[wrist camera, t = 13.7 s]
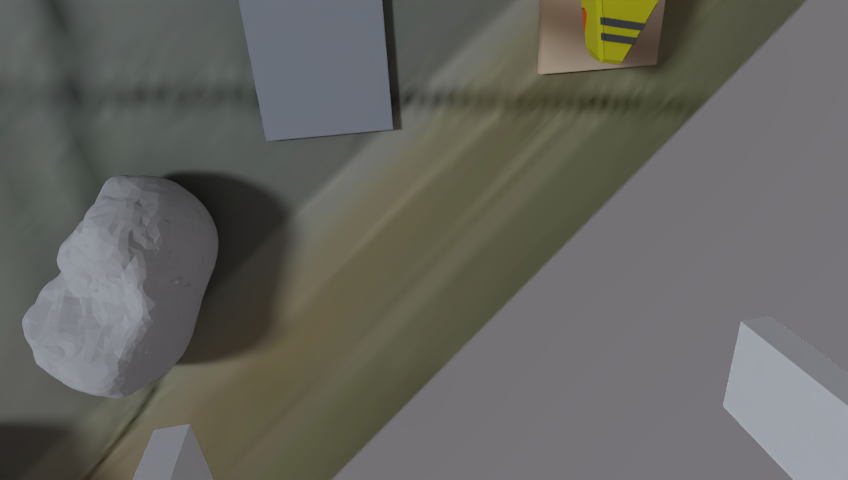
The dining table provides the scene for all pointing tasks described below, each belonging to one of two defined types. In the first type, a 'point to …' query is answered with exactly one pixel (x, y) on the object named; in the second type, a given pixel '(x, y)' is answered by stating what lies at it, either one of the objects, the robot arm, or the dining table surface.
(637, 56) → the pad two
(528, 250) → the dining table surface
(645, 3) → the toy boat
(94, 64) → the dining table surface
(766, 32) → the dining table surface
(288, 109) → the pad one
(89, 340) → the decorative stone
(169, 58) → the dining table surface
